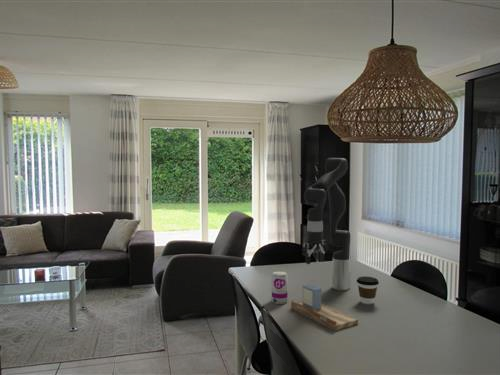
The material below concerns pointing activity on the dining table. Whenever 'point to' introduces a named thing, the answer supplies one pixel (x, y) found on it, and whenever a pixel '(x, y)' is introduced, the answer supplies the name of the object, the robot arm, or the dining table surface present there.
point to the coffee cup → (367, 289)
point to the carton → (312, 297)
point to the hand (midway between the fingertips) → (315, 262)
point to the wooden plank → (326, 316)
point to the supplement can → (279, 287)
